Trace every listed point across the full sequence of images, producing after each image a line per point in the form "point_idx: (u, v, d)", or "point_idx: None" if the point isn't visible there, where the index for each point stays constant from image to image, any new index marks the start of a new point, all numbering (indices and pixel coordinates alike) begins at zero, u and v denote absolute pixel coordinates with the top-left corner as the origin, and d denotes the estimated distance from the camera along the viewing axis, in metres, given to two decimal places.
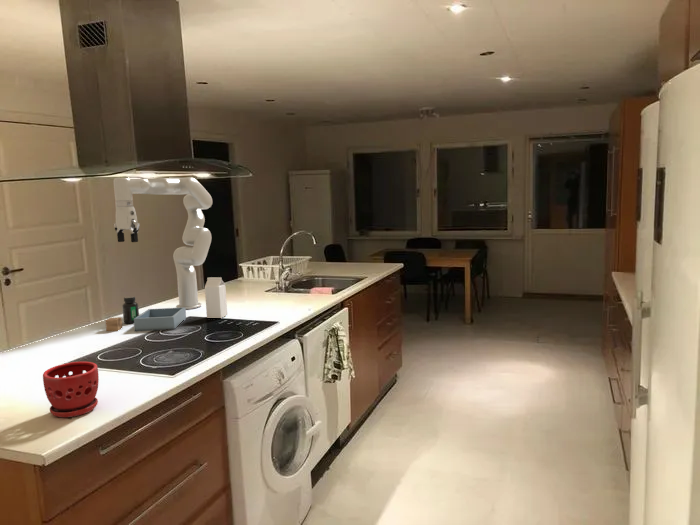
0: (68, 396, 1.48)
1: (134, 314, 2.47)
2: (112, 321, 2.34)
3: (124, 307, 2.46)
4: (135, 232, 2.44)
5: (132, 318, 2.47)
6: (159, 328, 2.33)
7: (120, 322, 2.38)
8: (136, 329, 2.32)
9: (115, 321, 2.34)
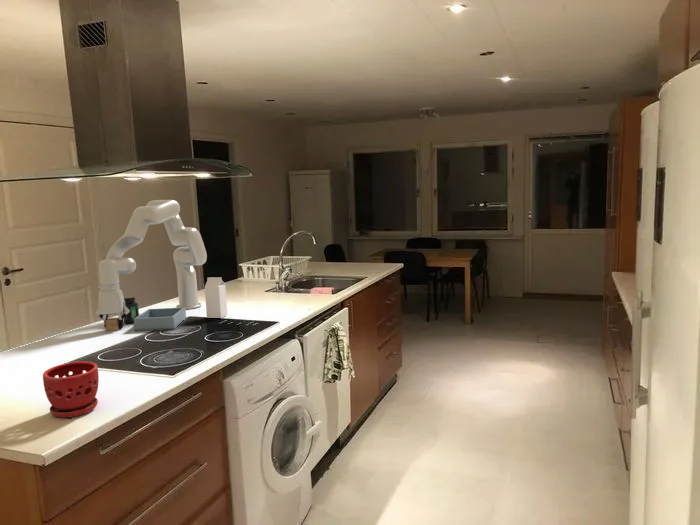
0: (68, 396, 1.48)
1: (134, 314, 2.47)
2: (112, 321, 2.34)
3: None
4: None
5: (132, 318, 2.47)
6: (159, 328, 2.33)
7: None
8: (136, 329, 2.32)
9: (115, 321, 2.34)
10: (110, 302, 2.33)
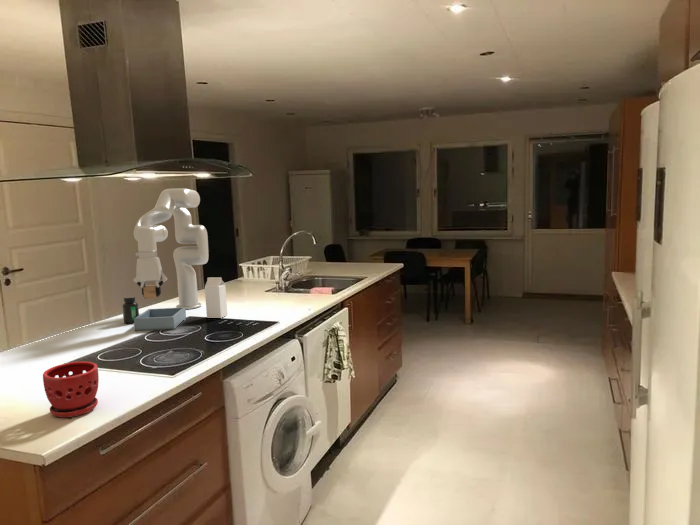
0: (68, 396, 1.48)
1: (134, 314, 2.47)
2: (150, 288, 2.33)
3: (124, 307, 2.46)
4: None
5: (132, 318, 2.47)
6: (159, 328, 2.33)
7: None
8: (136, 329, 2.32)
9: (153, 288, 2.33)
10: (148, 269, 2.32)
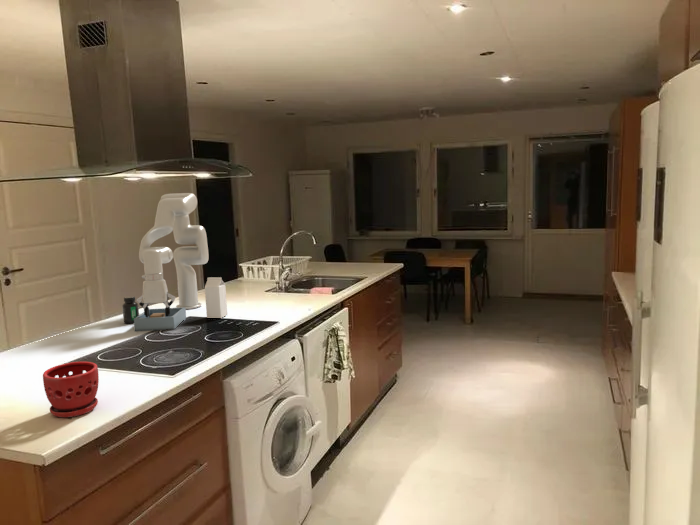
0: (68, 396, 1.48)
1: (133, 314, 2.47)
2: (157, 316, 2.35)
3: (124, 307, 2.46)
4: None
5: (132, 318, 2.47)
6: (159, 328, 2.33)
7: None
8: (136, 329, 2.32)
9: (159, 316, 2.35)
10: (154, 291, 2.33)
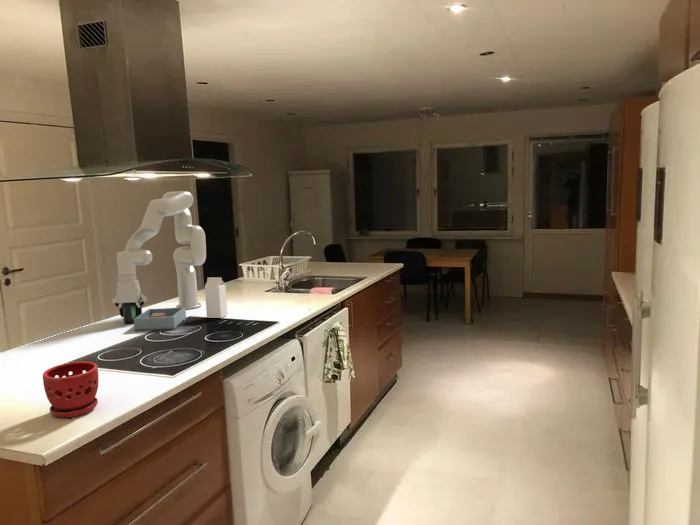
0: (68, 396, 1.48)
1: (133, 314, 2.47)
2: (157, 316, 2.35)
3: (124, 307, 2.46)
4: None
5: (132, 318, 2.47)
6: (159, 328, 2.33)
7: None
8: (136, 329, 2.32)
9: (159, 316, 2.35)
10: (127, 291, 2.45)
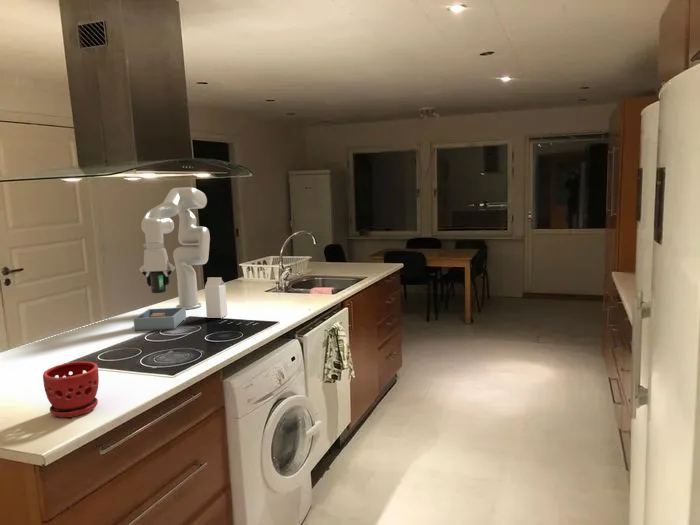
0: (68, 396, 1.48)
1: (161, 283, 2.42)
2: (157, 316, 2.35)
3: (151, 276, 2.41)
4: None
5: (159, 287, 2.42)
6: (159, 328, 2.33)
7: None
8: (136, 329, 2.32)
9: (159, 316, 2.35)
10: (155, 260, 2.41)
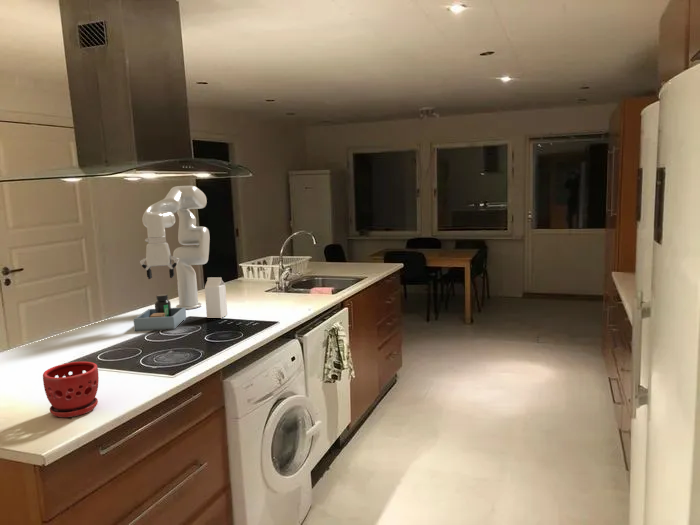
0: (68, 396, 1.48)
1: (166, 312, 2.44)
2: (157, 316, 2.35)
3: (157, 305, 2.43)
4: None
5: (165, 316, 2.44)
6: (159, 328, 2.33)
7: None
8: (136, 329, 2.32)
9: (159, 316, 2.35)
10: (157, 254, 2.40)
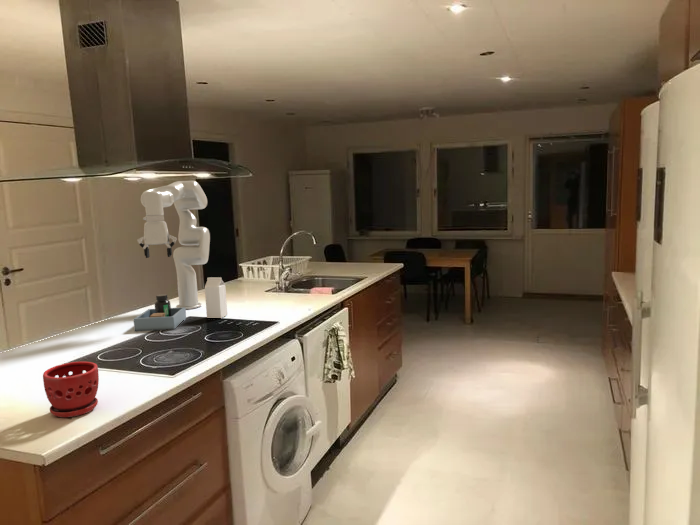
0: (68, 396, 1.48)
1: (166, 312, 2.44)
2: (157, 316, 2.35)
3: (157, 305, 2.43)
4: None
5: None
6: (159, 328, 2.33)
7: None
8: (136, 329, 2.32)
9: (159, 316, 2.35)
10: (155, 232, 2.39)
